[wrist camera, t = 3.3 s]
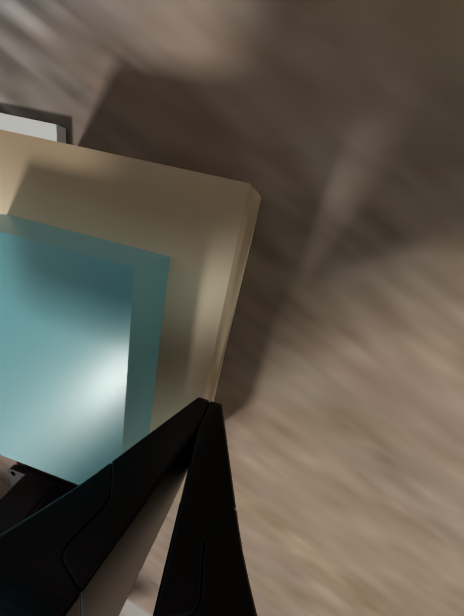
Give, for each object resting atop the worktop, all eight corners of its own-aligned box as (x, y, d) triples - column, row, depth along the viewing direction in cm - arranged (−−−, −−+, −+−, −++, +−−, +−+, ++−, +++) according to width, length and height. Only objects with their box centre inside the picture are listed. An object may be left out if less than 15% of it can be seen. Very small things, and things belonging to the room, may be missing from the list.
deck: (205, 436, 15) (180, 503, 12) (78, 392, 16) (18, 442, 13) (261, 197, 10) (249, 183, 7) (72, 155, 11) (-31, 122, 8)
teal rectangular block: (146, 453, 11) (118, 500, 9) (30, 412, 12) (-18, 448, 10) (169, 256, 8) (134, 267, 6) (7, 214, 8) (-72, 212, 7)
